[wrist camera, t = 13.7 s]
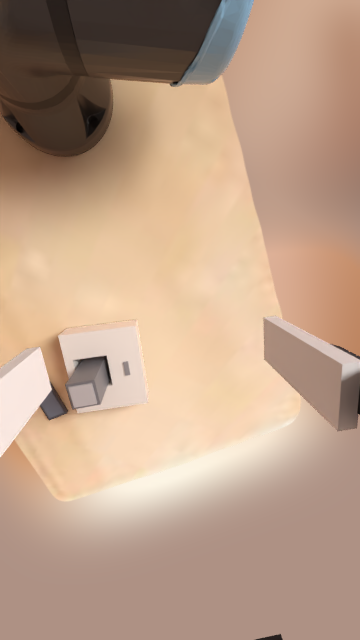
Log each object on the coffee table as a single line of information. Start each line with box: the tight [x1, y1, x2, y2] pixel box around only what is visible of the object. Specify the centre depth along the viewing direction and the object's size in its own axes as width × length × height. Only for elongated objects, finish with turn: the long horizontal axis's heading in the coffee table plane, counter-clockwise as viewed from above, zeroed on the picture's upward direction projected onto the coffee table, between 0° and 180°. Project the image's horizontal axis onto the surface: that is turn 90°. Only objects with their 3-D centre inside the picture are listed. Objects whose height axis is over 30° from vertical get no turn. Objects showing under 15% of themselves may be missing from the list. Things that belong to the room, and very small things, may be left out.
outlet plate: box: [58, 319, 149, 413], centre depth 43 cm, size 14×12×4 cm
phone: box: [40, 380, 68, 420], centre depth 46 cm, size 7×4×1 cm, turn 21°
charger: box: [65, 355, 111, 409], centre depth 40 cm, size 4×4×10 cm
